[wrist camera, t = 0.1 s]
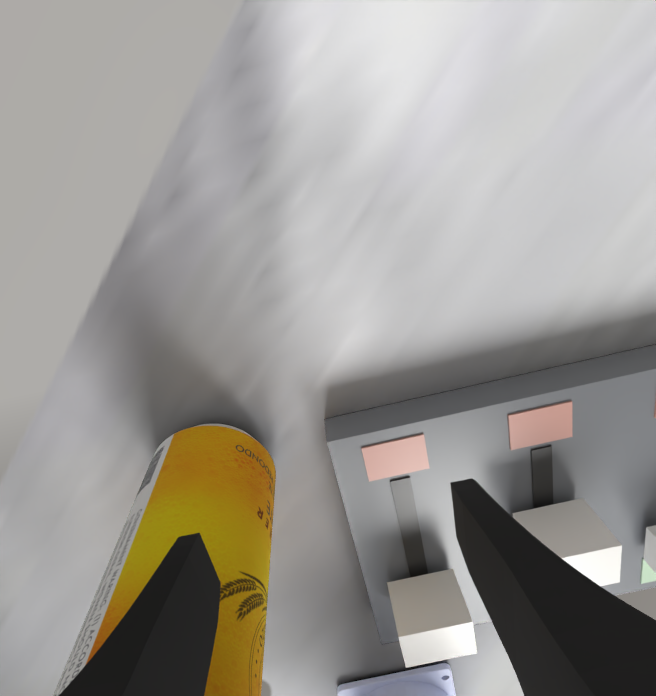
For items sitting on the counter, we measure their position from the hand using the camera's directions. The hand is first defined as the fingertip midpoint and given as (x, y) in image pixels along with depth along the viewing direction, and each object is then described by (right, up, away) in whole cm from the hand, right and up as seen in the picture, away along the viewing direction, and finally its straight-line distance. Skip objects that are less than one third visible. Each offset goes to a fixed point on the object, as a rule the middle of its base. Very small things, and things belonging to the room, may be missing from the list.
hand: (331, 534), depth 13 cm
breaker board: (+11, -3, +13) cm, 17 cm away
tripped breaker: (+11, -4, +11) cm, 16 cm away
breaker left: (+5, -8, +12) cm, 15 cm away
